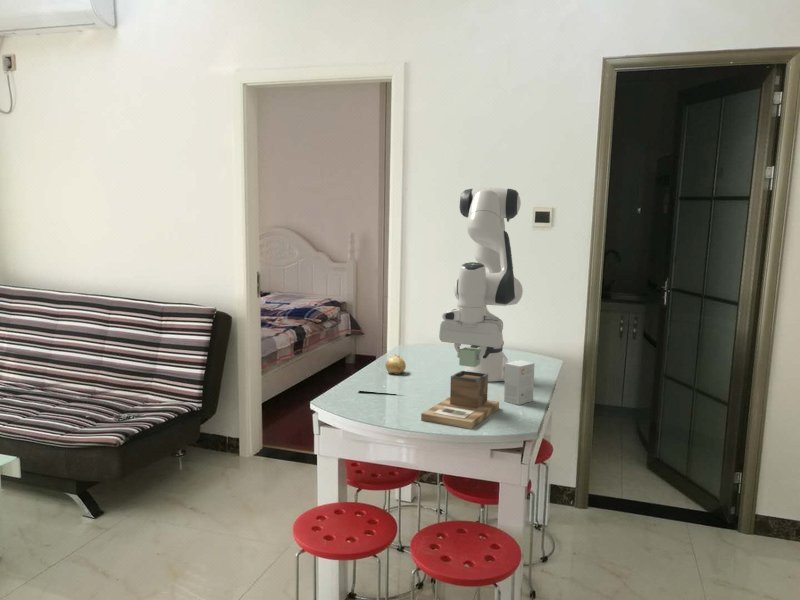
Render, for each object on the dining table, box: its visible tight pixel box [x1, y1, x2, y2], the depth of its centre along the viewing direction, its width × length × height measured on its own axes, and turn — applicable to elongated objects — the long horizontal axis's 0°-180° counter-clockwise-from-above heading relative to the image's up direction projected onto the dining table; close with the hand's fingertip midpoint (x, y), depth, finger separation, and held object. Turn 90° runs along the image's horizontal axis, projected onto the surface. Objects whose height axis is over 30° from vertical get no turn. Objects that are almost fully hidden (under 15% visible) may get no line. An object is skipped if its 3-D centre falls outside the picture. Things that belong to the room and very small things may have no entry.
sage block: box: [458, 346, 481, 367], centre depth 200 cm, size 5×5×5 cm
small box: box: [503, 359, 535, 406], centre depth 212 cm, size 8×6×13 cm
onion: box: [384, 354, 407, 375], centre depth 249 cm, size 8×8×7 cm
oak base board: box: [420, 370, 500, 430], centre depth 197 cm, size 24×16×11 cm, turn 152°
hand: (469, 358), depth 200 cm, fingers closed on sage block, 5 cm apart
